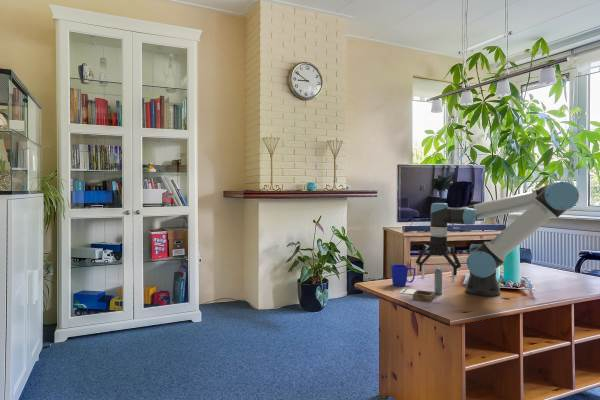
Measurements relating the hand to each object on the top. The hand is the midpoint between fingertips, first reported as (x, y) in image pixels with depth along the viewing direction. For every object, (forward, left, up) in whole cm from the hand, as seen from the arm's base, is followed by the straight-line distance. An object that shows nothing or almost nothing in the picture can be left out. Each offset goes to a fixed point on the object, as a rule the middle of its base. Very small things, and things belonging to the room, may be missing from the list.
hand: (437, 280), depth 187 cm
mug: (+19, -9, -7) cm, 22 cm away
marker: (0, 0, -6) cm, 6 cm away
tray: (+4, +12, -6) cm, 14 cm away
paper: (+9, +3, -6) cm, 12 cm away
